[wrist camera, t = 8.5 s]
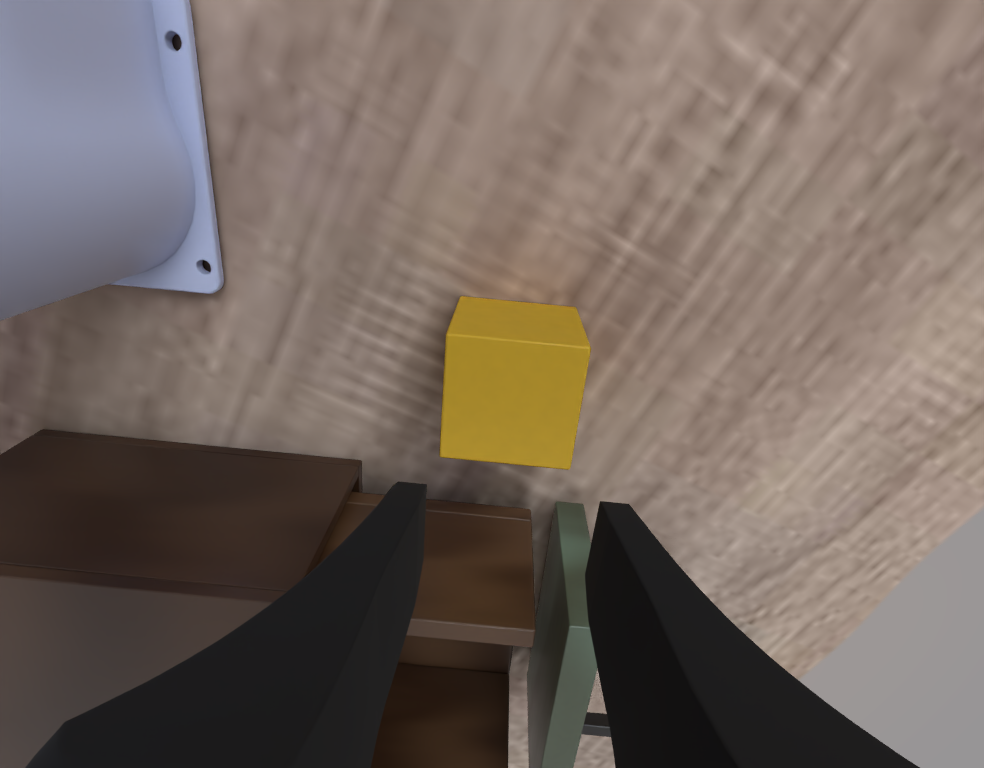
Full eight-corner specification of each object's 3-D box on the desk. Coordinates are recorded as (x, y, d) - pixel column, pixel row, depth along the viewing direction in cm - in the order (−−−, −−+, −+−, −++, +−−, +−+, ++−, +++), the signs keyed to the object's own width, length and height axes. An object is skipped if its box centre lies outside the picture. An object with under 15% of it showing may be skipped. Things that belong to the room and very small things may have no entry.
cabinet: (361, 460, 23) (290, 604, 16) (365, 653, 28) (311, 831, 21) (41, 429, 23) (-176, 559, 16) (101, 627, 28) (-45, 796, 21)
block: (460, 295, 20) (445, 333, 16) (576, 306, 20) (591, 347, 16) (453, 400, 22) (438, 458, 18) (560, 410, 22) (570, 470, 18)
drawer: (693, 514, 23) (756, 644, 17) (642, 685, 27) (677, 836, 21) (275, 473, 23) (190, 589, 17) (292, 651, 27) (229, 792, 21)
